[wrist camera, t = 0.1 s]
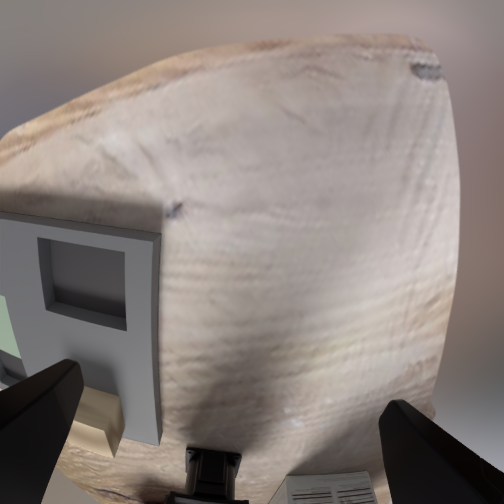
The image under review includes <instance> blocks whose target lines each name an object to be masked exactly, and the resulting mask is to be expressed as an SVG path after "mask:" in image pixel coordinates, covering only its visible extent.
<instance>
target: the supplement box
mask: <svg viewBox="0 0 504 504" xmlns="http://www.w3.org/2000/svg"><path fill="white" fill-rule="evenodd" d="M269 504H378V502H377V499H376V495H375V492H374V489H373V486H372V483H371V479H370V476H369V473H368V471H362V472H353V473H342V474H328V475H301V476H286V478H285V480H284V482H283V483H282V485H281V486H280V488H279V489H278V491H277V492H276V494H275V495H274V496H273V498H272V499H271V501H270V502H269Z"/></svg>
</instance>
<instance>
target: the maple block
mask: <svg viewBox="0 0 504 504" xmlns="http://www.w3.org/2000/svg"><path fill="white" fill-rule="evenodd" d="M125 427H126V426H125V422H124V417H123V412H122V407H121V402H120V397H119V396H117V395H113V394H109V393H106V392H102V391H99V390H96V389H93V388H89V387H86V386H84V390H83V393H82V396H81V399H80V402H79V405H78V408H77V411H76V414H75V417H74V420H73V424H72V427H71V430H70V432H69V435H68V437H67V440H68V442H69V443H70V444H72V445H75V446H78V447H80V448H83V449H86V450H88V451H91V452H94V453H97V454H100V455H103V456H106V457H109V458H113V459H114V457H115V454H116V451H117V449H118V446H119V443H120V440H121V438H122V435H123V432H124V430H125Z"/></svg>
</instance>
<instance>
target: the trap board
mask: <svg viewBox="0 0 504 504" xmlns="http://www.w3.org/2000/svg"><path fill="white" fill-rule="evenodd" d="M160 245H161V234H159V233H152V232H145V231H138V230H131V229H124V228H117V227H110V226H103V225H96V224H88V223H81V222H74V221H67V220H60V219H52V218H45V217H38V216H30V215H23V214H16V213H8V212H1V211H0V388H1V389H3V390H4V389H6V388H8V387H10V386H12V385H14V384H16V383H18V382H20V381H22V380H24V379H26V378H28V377H30V376H32V375H34V374H36V373H38V372H40V371H42V370H44V369H45V368H47V367H49V366H51V365H53V364H55V363H57V362H59V361H61V360H63V359H66V358H68V359H71V360H74V361H77V362H79V364H80V366H81V371H82V375H83V379H84V386H86V387H89V388H93V389H96V390H99V391H102V392H106V393H109V394H113V395H117V396H119V397H120V402H121V407H122V412H123V417H124V422H125V426H126V427H125V430H124V432H123V435H122V438H126V439H130V440H133V441H137V442H141V443H146V444H150V445H154V446H159V445H160V441H161V437H162V422H161V408H160V391H159V366H158V289H159V263H160Z"/></svg>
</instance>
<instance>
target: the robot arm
mask: <svg viewBox="0 0 504 504" xmlns="http://www.w3.org/2000/svg"><path fill="white" fill-rule="evenodd" d="M83 390H84V379H83V375H82V371H81V366H80V364H79V362H77V361H74V360H71V359H68V358H66V359H63V360H61V361H59V362H57V363H55V364H53V365H51V366H49V367H47V368H45V369H44V370H42V371H40V372H38V373H36V374H34V375H32V376H30V377H28V378H26V379H24V380H22V381H20V382H18V383H16V384H14V385H12V386H10V387H8V388H6V389H4V390H2V391H0V504H41V502H42V499H43V496H44V493H45V491H46V488H47V486H48V483H49V480H50V478H51V475H52V473H53V470H54V468H55V465H56V463H57V460H58V458H59V456H60V453H61V451H62V449H63V446H64V444H65V442H66V439H67V437H68V435H69V432H70V430H71V427H72V424H73V420H74V417H75V414H76V411H77V408H78V405H79V402H80V399H81V396H82V393H83ZM379 430H380V437H381V445H382V453H383V461H384V466H385V471H386V476H387V480H388V484H389V489H390V494H391V498H392V503H393V504H504V473H503V472H502V471H500V470H498V469H497V468H495V467H494V466H492V465H491V464H490V463H488V462H487V461H485V460H484V459H483V458H480V456H478V455H477V454H476V453H474V452H473V451H472V450H470V449H469V448H467V447H466V446H465V445H463V444H462V443H461V442H459V441H458V440H457V439H455V438H454V437H453V436H451V435H450V434H449V433H447V432H446V431H444V430H443V429H442V428H441V427H439V426H438V425H437V424H435V423H434V422H433V421H431V420H430V419H429V418H427V417H426V416H425V415H423V414H422V413H421V412H419V411H418V410H417V409H415V408H414V407H413V406H411V405H410V404H409V403H408V402H406V401H405V400H403V399H397V400H391V401H390V402H389V403H388V405H387V406H386V408H385V410H384V411H383V413H382V415H381V416H380V419H379ZM241 459H242V455H241V454H236V453H226V452H217V451H209V450H202V449H195V448H186V473H187V478H186V484H185V491H184V494H182V493H177V492H175V491H171V492H170V495H166V496H165V501H164V504H249V500H234V498H235V478H236V476H237V473H238V469H239V466H240V462H241Z"/></svg>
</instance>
